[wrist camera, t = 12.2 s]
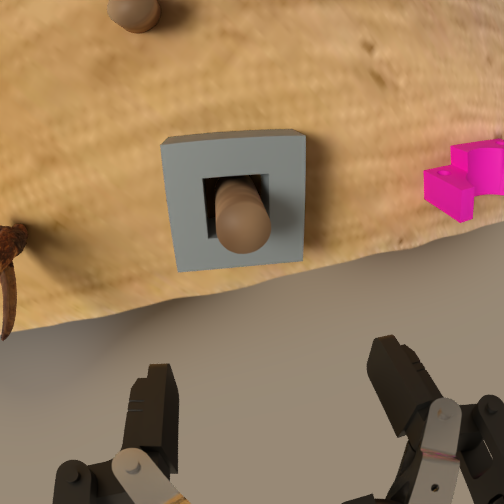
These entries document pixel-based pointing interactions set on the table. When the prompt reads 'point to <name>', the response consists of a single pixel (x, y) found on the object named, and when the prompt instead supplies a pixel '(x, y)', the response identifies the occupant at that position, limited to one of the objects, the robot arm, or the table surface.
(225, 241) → the tall walnut pin
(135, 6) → the short walnut pin
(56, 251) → the table surface
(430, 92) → the table surface
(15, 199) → the table surface
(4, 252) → the lashed bone hook
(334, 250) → the table surface
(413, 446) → the robot arm
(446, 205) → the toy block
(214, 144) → the slate block
